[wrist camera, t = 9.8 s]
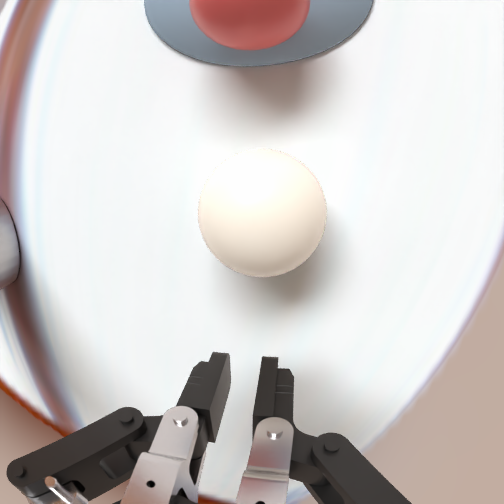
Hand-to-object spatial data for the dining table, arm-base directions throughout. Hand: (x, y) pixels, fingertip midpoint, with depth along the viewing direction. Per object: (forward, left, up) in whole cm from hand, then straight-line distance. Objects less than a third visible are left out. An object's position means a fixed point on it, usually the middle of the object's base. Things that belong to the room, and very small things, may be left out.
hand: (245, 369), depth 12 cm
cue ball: (+4, +5, -2) cm, 7 cm away
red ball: (+9, +14, -2) cm, 17 cm away
